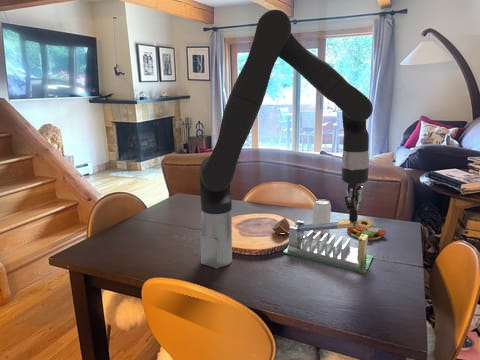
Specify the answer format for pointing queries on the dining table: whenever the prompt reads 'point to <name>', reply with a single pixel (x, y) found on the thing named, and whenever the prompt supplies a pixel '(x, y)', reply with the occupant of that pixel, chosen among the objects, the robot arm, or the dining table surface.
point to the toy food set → (366, 230)
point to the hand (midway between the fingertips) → (353, 220)
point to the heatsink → (329, 250)
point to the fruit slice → (282, 226)
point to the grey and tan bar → (327, 225)
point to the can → (321, 214)
